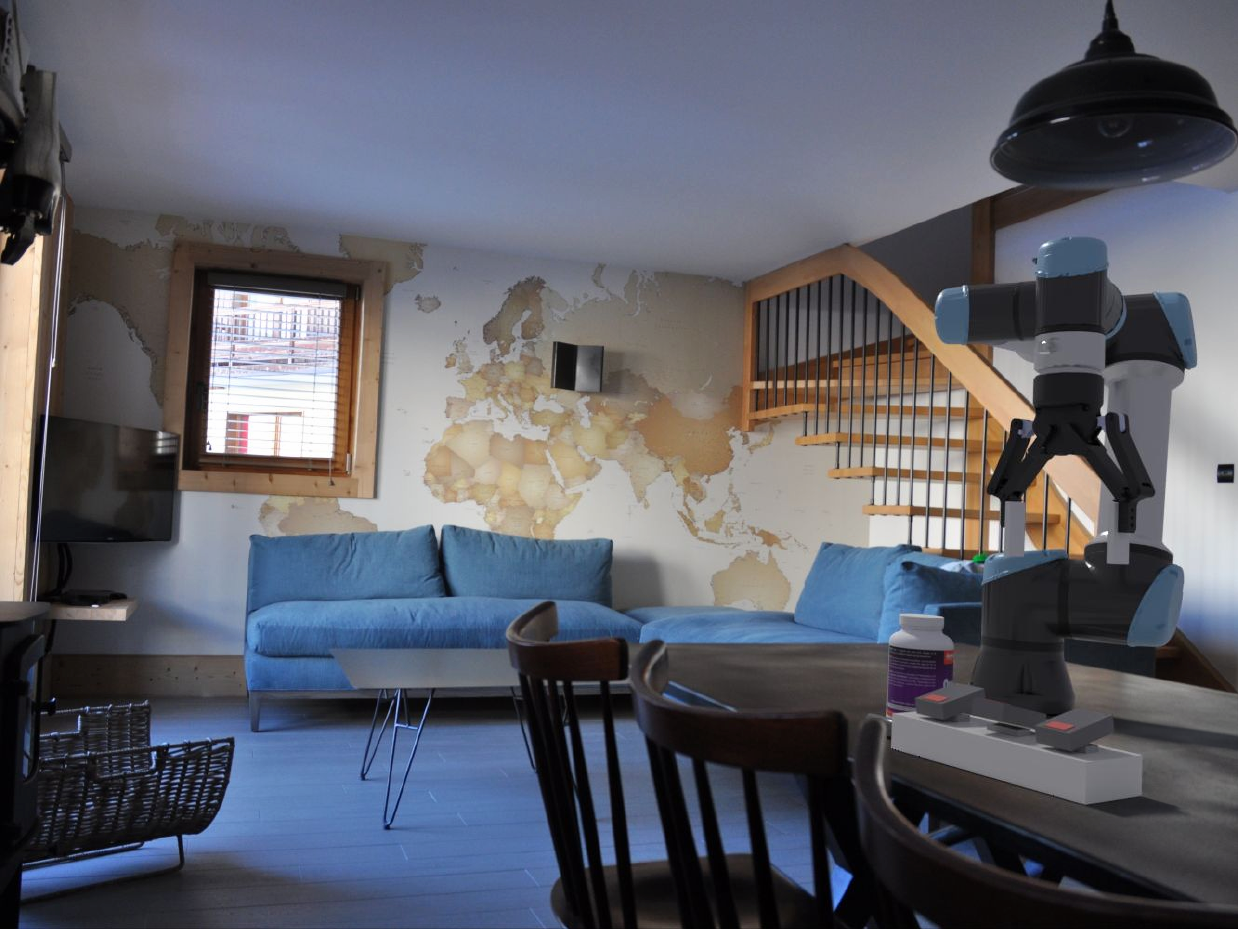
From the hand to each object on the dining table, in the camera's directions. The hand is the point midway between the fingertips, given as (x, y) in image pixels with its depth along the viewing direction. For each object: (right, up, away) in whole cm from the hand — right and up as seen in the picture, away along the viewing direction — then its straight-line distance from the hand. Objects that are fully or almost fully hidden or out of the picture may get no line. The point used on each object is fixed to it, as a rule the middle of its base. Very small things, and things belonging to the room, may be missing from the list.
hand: (1063, 560), depth 120 cm
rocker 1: (-13, -16, +1) cm, 20 cm away
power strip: (-11, -22, -3) cm, 25 cm away
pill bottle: (-12, -23, +15) cm, 30 cm away
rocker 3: (-4, -16, -13) cm, 21 cm away
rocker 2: (-8, -16, -6) cm, 19 cm away
